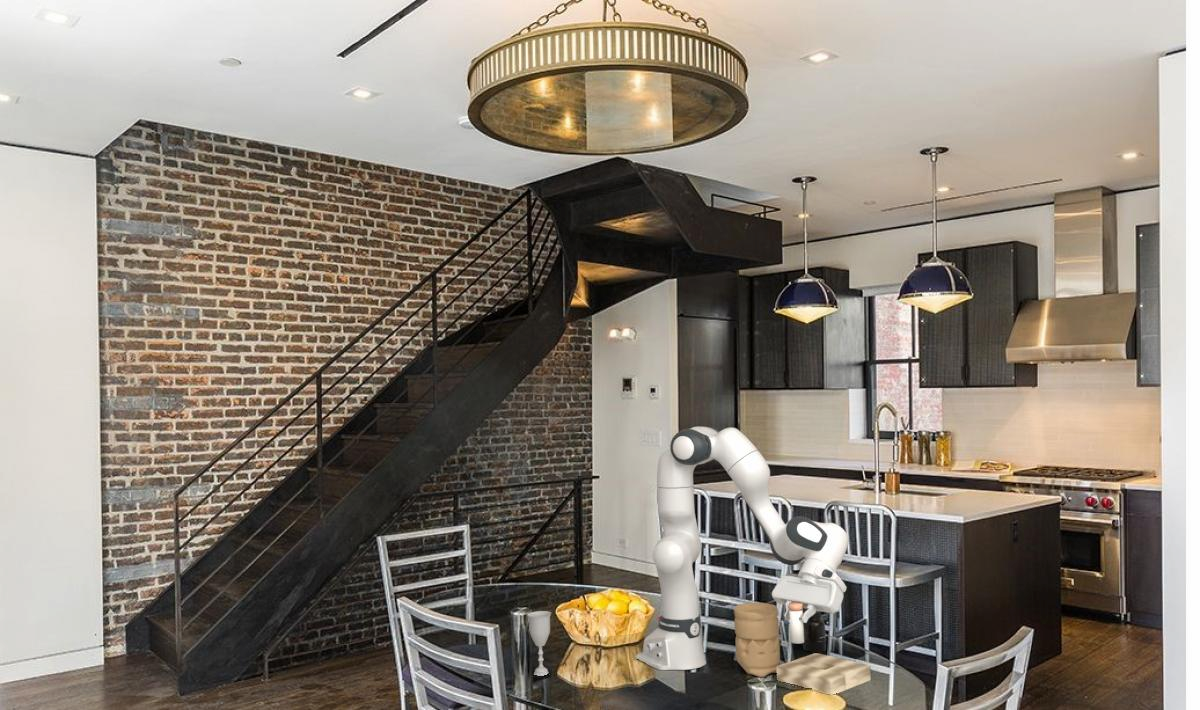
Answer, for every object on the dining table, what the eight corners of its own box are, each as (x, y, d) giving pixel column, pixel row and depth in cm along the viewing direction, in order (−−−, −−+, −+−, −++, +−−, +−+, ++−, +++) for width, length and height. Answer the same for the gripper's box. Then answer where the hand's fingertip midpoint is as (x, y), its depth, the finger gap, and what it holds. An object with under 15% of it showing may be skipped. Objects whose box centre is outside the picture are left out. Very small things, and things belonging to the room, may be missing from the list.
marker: (787, 641, 239) (785, 603, 239) (796, 639, 241) (794, 601, 242) (798, 644, 236) (796, 605, 237) (807, 641, 238) (805, 603, 239)
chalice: (543, 671, 266) (541, 610, 267) (558, 675, 261) (556, 613, 262) (524, 677, 261) (522, 614, 262) (539, 681, 256) (537, 618, 257)
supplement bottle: (826, 653, 274) (824, 613, 274) (803, 652, 275) (801, 613, 276) (825, 647, 280) (823, 608, 281) (803, 646, 282) (801, 608, 282)
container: (789, 669, 259) (786, 606, 260) (764, 680, 250) (761, 614, 251) (753, 661, 268) (750, 600, 269) (727, 671, 259) (725, 608, 260)
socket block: (777, 681, 249) (776, 666, 249) (816, 666, 260) (815, 652, 261) (831, 695, 235) (830, 680, 235) (870, 680, 247) (869, 665, 247)
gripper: (779, 565, 252) (758, 606, 245) (841, 574, 236) (820, 618, 230) (790, 579, 255) (770, 620, 248) (852, 588, 239) (831, 633, 232)
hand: (794, 619), depth 239 cm, fingers closed on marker, 3 cm apart
